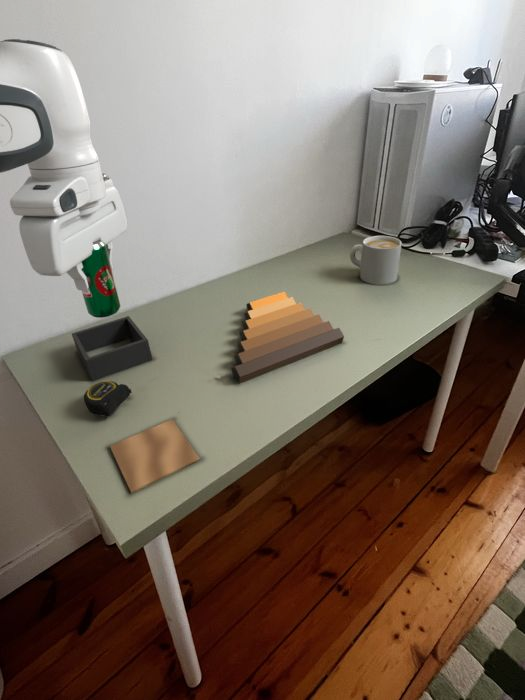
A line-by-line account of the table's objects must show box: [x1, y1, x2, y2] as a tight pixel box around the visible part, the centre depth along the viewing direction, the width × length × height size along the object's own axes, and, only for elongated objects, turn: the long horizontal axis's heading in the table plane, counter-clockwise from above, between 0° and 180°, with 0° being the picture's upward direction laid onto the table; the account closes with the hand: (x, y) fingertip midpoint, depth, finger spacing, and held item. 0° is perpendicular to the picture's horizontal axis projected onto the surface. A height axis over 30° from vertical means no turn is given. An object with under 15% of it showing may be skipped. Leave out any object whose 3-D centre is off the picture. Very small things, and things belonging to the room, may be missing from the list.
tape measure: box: [83, 380, 133, 417], centre depth 78 cm, size 7×7×4 cm
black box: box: [71, 315, 153, 382], centre depth 92 cm, size 13×13×5 cm
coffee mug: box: [349, 235, 402, 286], centre depth 118 cm, size 13×10×10 cm
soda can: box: [81, 237, 121, 319], centre depth 67 cm, size 5×5×12 cm
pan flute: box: [231, 291, 345, 385], centre depth 96 cm, size 25×3×25 cm
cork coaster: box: [109, 418, 201, 494], centre depth 69 cm, size 11×11×1 cm
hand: (96, 279), depth 67 cm, fingers closed on soda can, 5 cm apart
